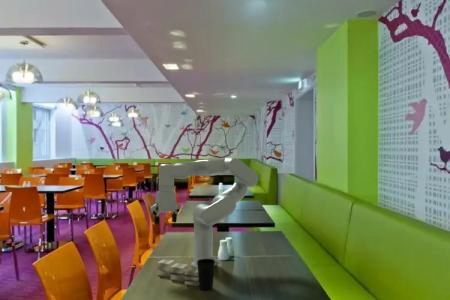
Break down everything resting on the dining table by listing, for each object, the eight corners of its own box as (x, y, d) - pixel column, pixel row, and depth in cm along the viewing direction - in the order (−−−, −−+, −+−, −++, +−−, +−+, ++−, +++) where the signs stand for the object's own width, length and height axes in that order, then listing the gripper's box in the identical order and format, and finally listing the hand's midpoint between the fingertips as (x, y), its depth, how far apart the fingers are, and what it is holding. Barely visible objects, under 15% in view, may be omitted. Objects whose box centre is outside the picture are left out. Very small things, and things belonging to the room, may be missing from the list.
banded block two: (202, 281, 193) (202, 268, 193) (197, 286, 187) (197, 272, 187) (190, 280, 195) (190, 267, 195) (184, 284, 189) (184, 271, 189)
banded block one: (188, 277, 200) (188, 264, 199) (182, 281, 194) (182, 268, 193) (176, 275, 202) (176, 263, 201) (170, 279, 196) (170, 266, 196)
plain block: (174, 272, 206) (174, 260, 206) (168, 276, 200) (168, 263, 200) (163, 271, 208) (163, 259, 208) (157, 275, 202) (157, 262, 202)
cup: (214, 285, 188) (214, 258, 187) (214, 291, 180) (214, 263, 180) (197, 285, 187) (197, 258, 187) (196, 291, 180) (196, 263, 179)
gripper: (177, 187, 219) (176, 220, 219) (147, 189, 208) (146, 223, 208) (185, 188, 213) (184, 222, 213) (154, 190, 202) (153, 226, 202)
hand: (165, 223), depth 211 cm, fingers open, 9 cm apart
